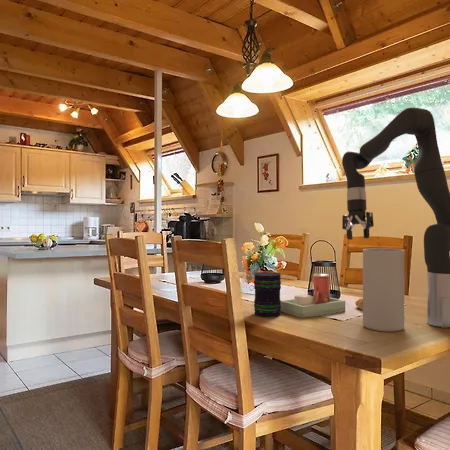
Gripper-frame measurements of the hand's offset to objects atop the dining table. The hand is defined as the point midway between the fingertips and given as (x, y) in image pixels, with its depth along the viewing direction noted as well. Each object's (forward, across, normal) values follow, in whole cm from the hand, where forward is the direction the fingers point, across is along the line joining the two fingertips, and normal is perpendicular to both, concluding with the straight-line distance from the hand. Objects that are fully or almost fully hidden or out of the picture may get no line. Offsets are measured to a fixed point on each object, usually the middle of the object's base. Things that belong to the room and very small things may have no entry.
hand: (357, 238), depth 176 cm
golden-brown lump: (+28, +11, -3) cm, 31 cm away
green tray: (+28, -2, -23) cm, 36 cm away
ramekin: (+26, -2, -28) cm, 39 cm away
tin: (+26, -2, -19) cm, 32 cm away
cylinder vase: (+31, +27, -21) cm, 46 cm away
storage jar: (+29, -7, -41) cm, 51 cm away
